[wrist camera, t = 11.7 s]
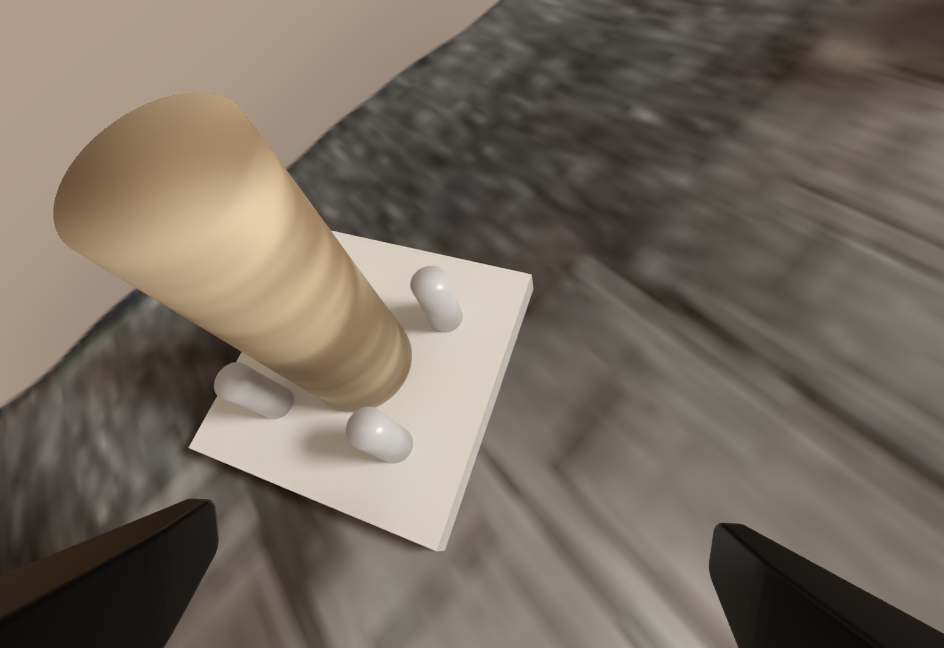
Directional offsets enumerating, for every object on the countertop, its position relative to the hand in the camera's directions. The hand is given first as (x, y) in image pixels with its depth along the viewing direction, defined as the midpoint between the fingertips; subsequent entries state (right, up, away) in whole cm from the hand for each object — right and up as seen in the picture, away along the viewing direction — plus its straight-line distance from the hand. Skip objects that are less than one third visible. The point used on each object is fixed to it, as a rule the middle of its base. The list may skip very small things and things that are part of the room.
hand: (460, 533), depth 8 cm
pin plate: (-5, +1, +16) cm, 16 cm away
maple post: (-5, +2, +14) cm, 15 cm away
